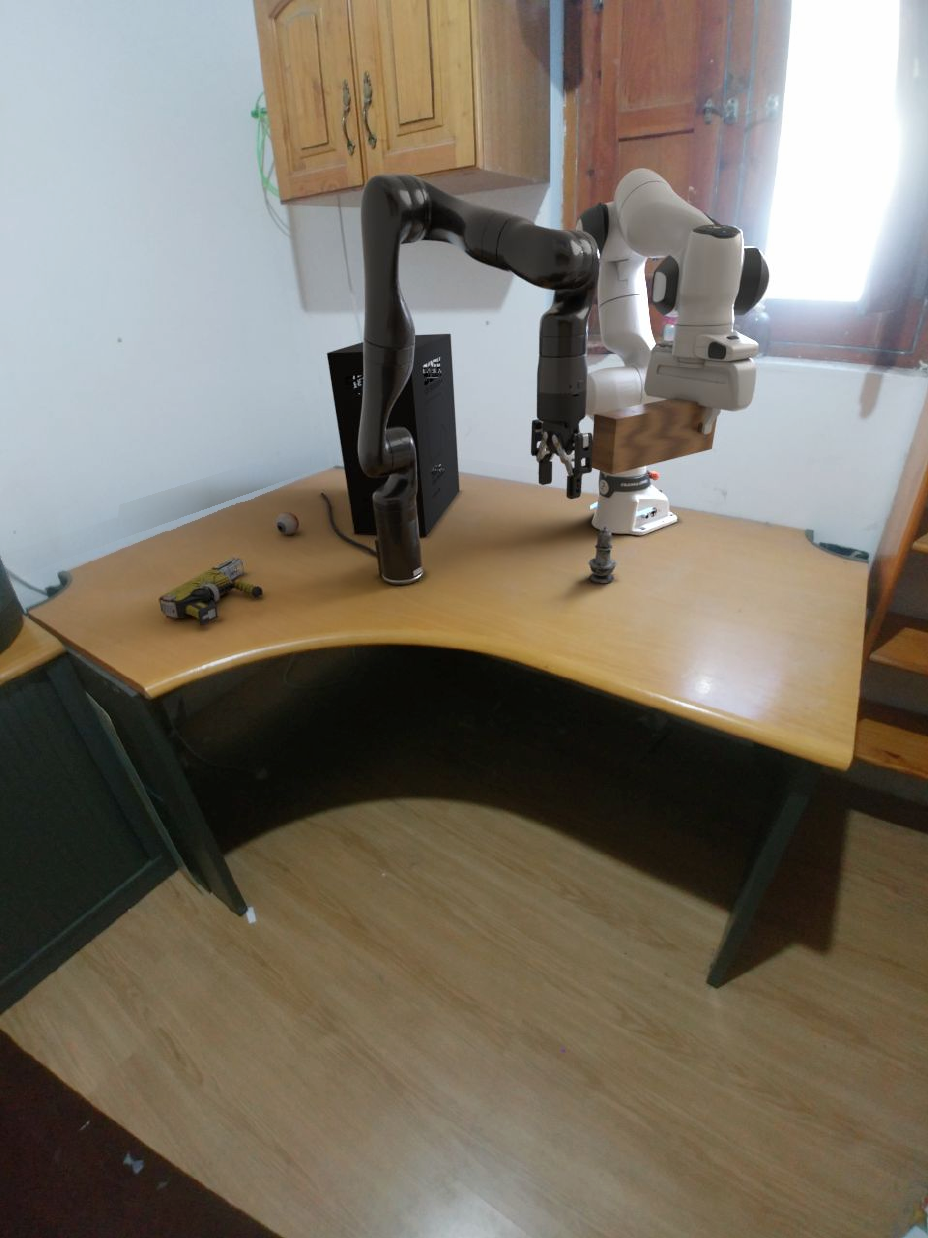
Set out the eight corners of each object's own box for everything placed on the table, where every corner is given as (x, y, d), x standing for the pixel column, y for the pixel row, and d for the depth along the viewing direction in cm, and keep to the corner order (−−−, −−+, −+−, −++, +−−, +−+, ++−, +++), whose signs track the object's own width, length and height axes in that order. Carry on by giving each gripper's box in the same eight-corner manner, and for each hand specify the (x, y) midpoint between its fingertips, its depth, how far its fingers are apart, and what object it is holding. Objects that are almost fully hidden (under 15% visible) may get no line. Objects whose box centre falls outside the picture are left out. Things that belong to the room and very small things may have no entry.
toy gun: (284, 566, 139) (229, 555, 143) (214, 612, 119) (152, 597, 123) (286, 584, 141) (232, 573, 145) (217, 632, 121) (157, 617, 125)
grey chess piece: (615, 584, 129) (619, 532, 123) (587, 583, 131) (590, 531, 125) (615, 572, 134) (619, 521, 128) (588, 571, 135) (591, 520, 129)
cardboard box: (426, 536, 158) (409, 350, 136) (354, 533, 163) (326, 352, 140) (459, 490, 190) (450, 333, 167) (398, 489, 194) (381, 336, 172)
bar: (689, 443, 110) (696, 393, 106) (712, 448, 106) (720, 397, 102) (590, 467, 100) (594, 413, 96) (612, 474, 97) (616, 419, 92)
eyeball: (273, 537, 164) (268, 516, 161) (287, 528, 169) (282, 508, 166) (291, 539, 161) (286, 518, 158) (305, 530, 166) (301, 510, 163)
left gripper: (517, 383, 95) (517, 483, 104) (566, 396, 84) (563, 507, 92) (557, 378, 98) (555, 476, 106) (611, 389, 87) (603, 498, 95)
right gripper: (640, 340, 104) (632, 422, 112) (741, 350, 89) (725, 444, 96) (666, 337, 107) (657, 417, 114) (768, 345, 92) (751, 437, 99)
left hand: (558, 490), depth 99 cm, fingers open, 8 cm apart
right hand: (689, 429), depth 105 cm, fingers closed on bar, 5 cm apart
